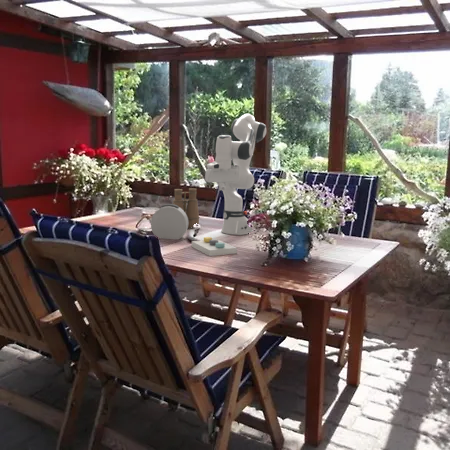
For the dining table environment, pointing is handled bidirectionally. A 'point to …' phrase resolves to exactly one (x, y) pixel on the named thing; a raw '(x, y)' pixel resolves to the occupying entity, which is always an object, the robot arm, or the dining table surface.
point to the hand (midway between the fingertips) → (222, 190)
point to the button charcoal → (213, 242)
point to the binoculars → (188, 205)
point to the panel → (213, 248)
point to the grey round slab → (169, 222)
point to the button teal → (220, 245)
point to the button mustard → (207, 239)
